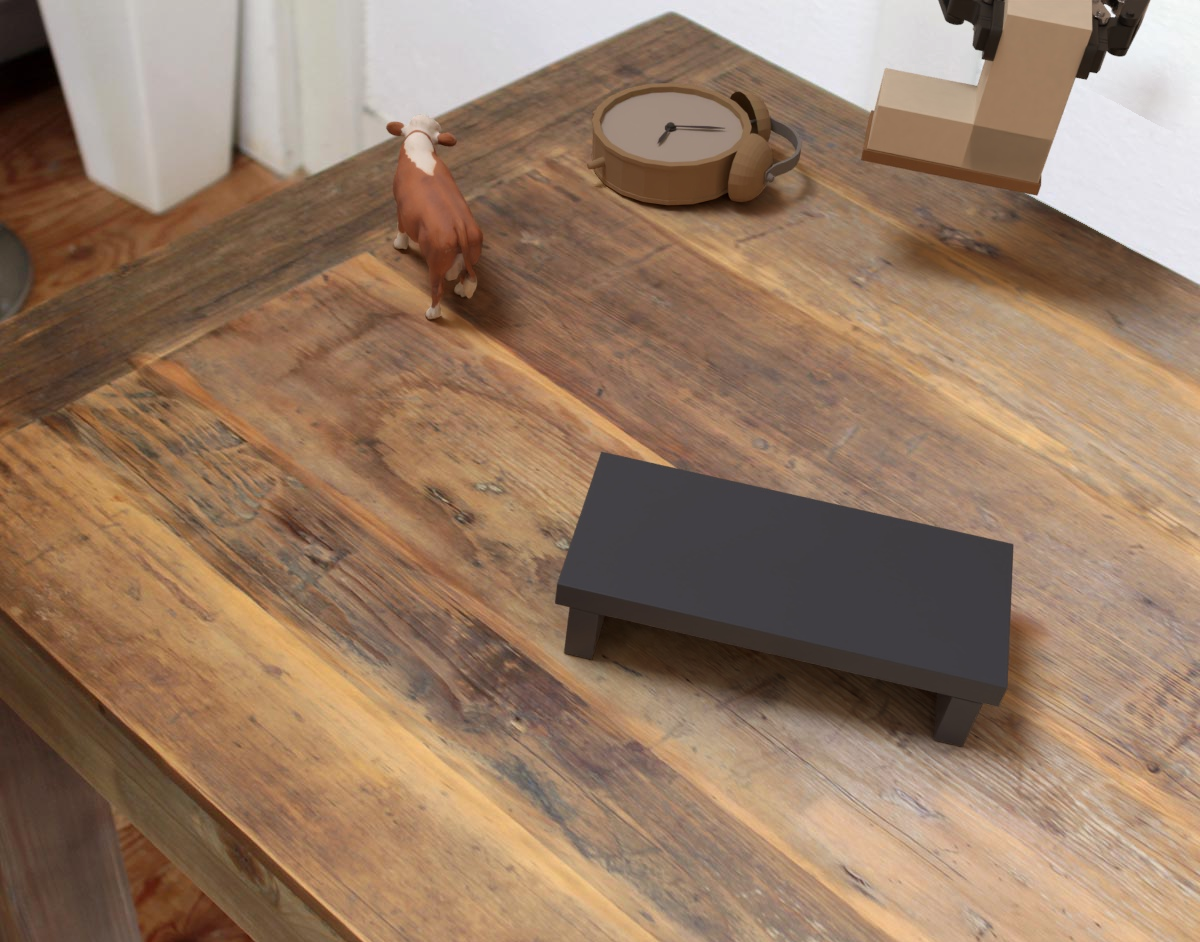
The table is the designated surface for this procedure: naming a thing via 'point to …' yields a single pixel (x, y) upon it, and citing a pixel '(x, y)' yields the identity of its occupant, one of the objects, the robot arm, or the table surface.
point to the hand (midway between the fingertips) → (1039, 54)
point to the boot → (987, 104)
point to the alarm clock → (686, 144)
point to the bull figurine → (434, 209)
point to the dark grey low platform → (793, 582)
